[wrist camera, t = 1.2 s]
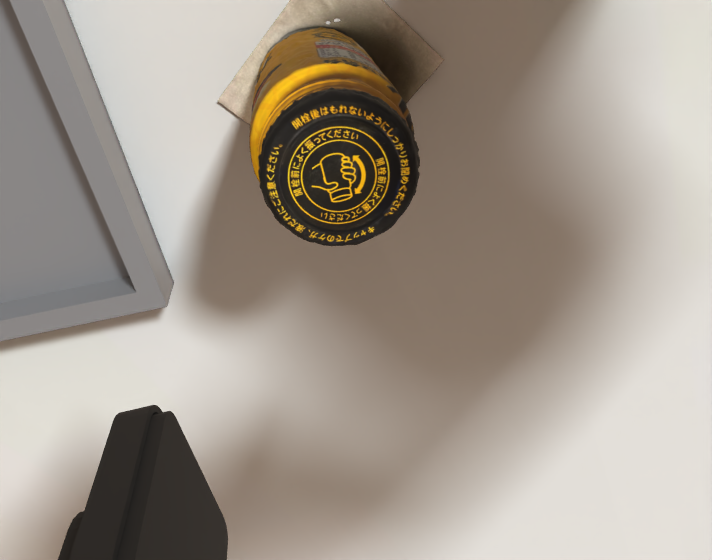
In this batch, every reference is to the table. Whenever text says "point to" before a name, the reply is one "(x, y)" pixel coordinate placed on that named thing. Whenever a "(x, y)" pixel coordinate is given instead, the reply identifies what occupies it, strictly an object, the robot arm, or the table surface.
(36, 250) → the tray
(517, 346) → the table surface
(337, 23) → the condiment
